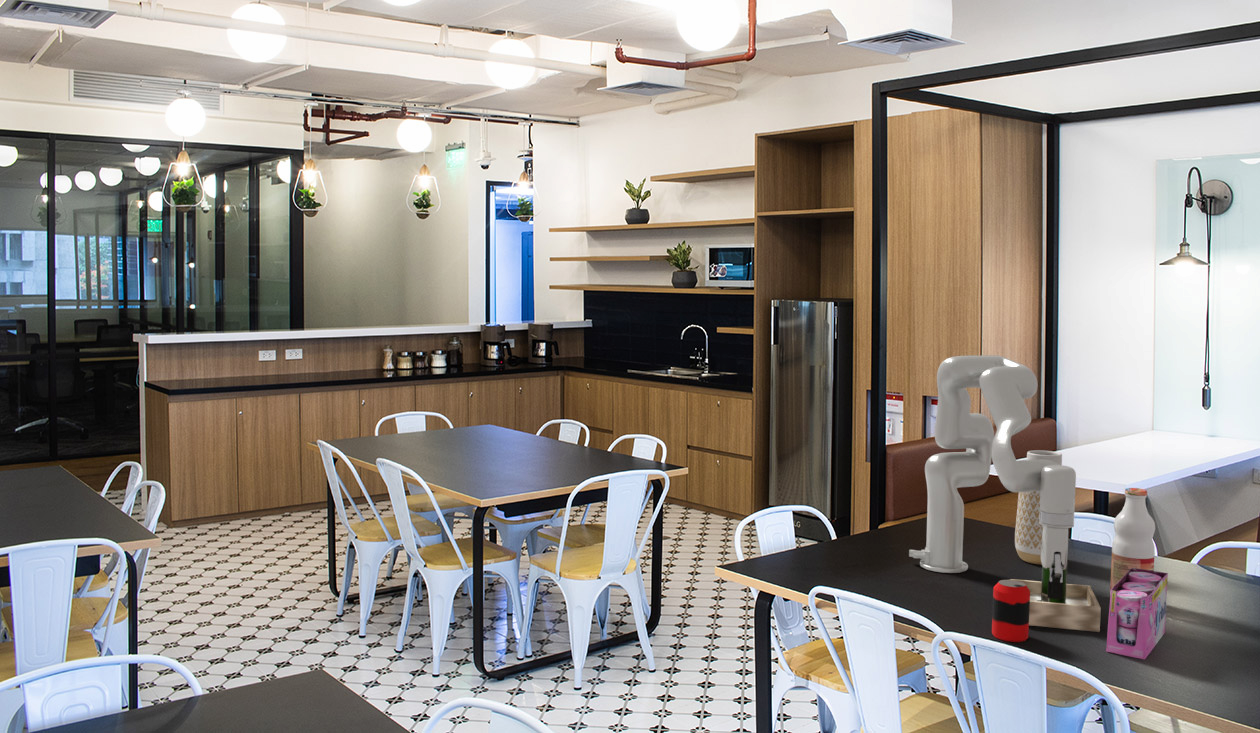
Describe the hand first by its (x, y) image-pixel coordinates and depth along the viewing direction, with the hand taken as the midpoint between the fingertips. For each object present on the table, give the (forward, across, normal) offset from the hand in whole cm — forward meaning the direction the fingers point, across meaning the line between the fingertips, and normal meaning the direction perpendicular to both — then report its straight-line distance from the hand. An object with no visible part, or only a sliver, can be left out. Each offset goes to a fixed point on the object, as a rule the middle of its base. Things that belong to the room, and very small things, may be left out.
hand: (1053, 594), depth 244 cm
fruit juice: (+5, -18, +20) cm, 27 cm away
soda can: (+5, +18, -10) cm, 22 cm away
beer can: (+3, 0, 0) cm, 3 cm away
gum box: (+6, +13, +16) cm, 21 cm away
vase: (+5, -52, +2) cm, 52 cm away
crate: (+5, 0, 0) cm, 5 cm away
